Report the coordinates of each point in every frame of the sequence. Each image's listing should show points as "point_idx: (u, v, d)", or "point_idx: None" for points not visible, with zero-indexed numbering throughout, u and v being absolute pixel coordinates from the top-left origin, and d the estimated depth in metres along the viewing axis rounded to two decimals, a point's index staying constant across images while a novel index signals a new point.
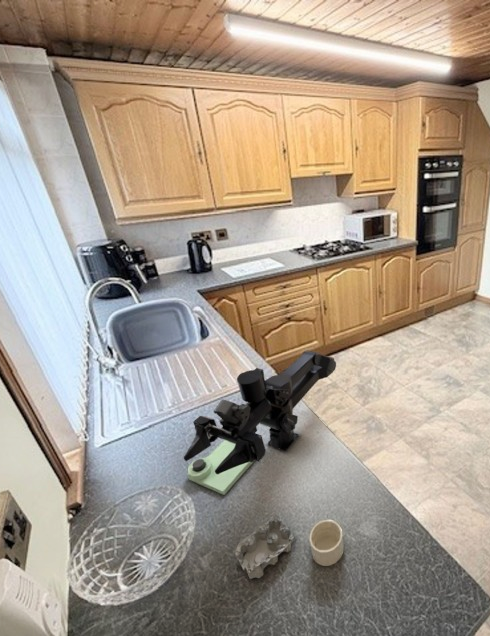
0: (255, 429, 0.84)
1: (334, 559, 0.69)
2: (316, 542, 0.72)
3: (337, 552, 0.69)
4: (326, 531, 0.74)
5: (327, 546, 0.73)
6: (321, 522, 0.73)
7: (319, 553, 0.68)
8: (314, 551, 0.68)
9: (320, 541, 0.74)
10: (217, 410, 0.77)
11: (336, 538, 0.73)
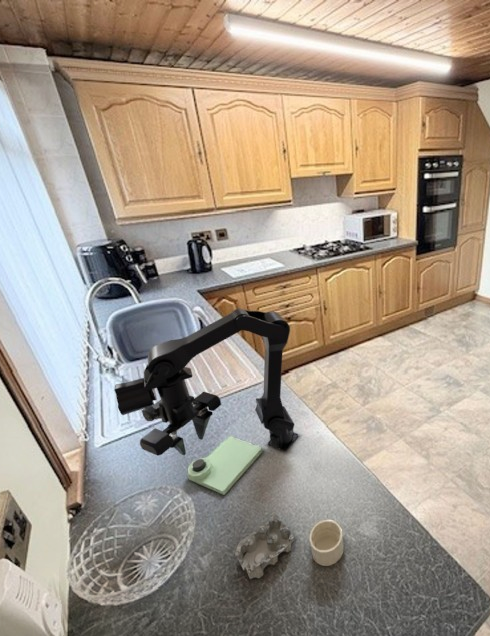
0: (174, 410, 0.78)
1: (334, 559, 0.69)
2: (316, 542, 0.72)
3: (337, 552, 0.69)
4: (326, 531, 0.74)
5: (327, 546, 0.73)
6: (321, 522, 0.73)
7: (319, 553, 0.68)
8: (314, 551, 0.68)
9: (320, 541, 0.74)
10: None
11: (336, 538, 0.73)
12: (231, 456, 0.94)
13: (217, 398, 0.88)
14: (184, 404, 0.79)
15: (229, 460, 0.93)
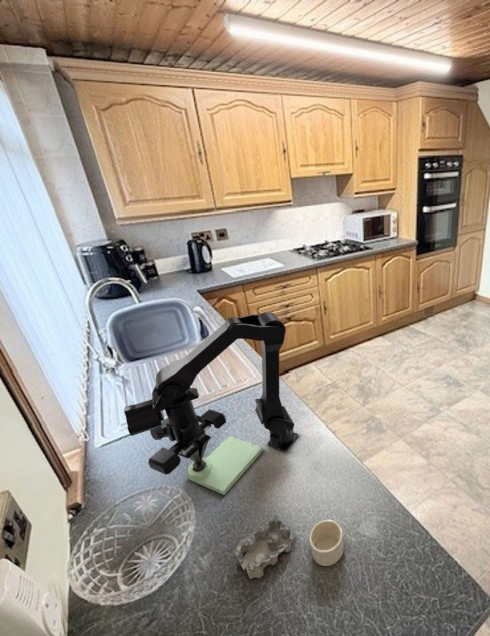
0: (181, 430, 0.80)
1: (334, 559, 0.69)
2: (316, 542, 0.72)
3: (337, 552, 0.69)
4: (326, 531, 0.74)
5: (327, 546, 0.73)
6: (321, 522, 0.73)
7: (319, 553, 0.68)
8: (314, 551, 0.68)
9: (320, 541, 0.74)
10: None
11: (336, 538, 0.73)
12: (231, 456, 0.94)
13: (222, 416, 0.91)
14: (191, 424, 0.82)
15: (229, 460, 0.93)
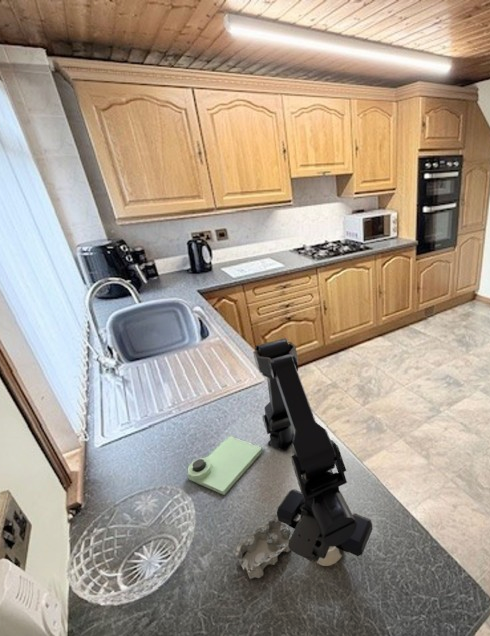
0: None
1: (334, 559, 0.69)
2: None
3: (337, 552, 0.69)
4: None
5: None
6: None
7: None
8: None
9: None
10: None
11: None
12: (231, 456, 0.94)
13: (294, 490, 0.73)
14: None
15: (229, 460, 0.93)
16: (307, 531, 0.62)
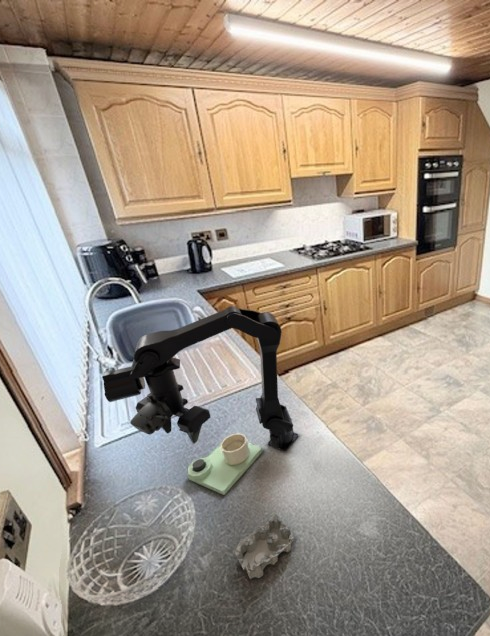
0: (180, 388, 0.82)
1: (239, 459, 0.91)
2: (228, 450, 0.94)
3: (241, 454, 0.91)
4: (237, 442, 0.95)
5: None
6: (232, 435, 0.95)
7: (226, 453, 0.90)
8: (223, 452, 0.90)
9: (232, 450, 0.96)
10: (140, 430, 0.77)
11: None
12: None
13: None
14: None
15: None
16: (147, 412, 0.77)
